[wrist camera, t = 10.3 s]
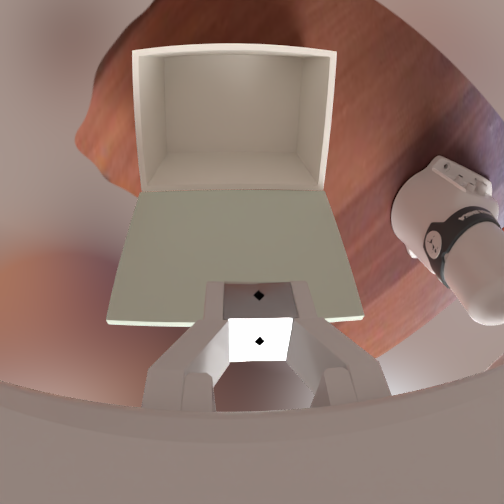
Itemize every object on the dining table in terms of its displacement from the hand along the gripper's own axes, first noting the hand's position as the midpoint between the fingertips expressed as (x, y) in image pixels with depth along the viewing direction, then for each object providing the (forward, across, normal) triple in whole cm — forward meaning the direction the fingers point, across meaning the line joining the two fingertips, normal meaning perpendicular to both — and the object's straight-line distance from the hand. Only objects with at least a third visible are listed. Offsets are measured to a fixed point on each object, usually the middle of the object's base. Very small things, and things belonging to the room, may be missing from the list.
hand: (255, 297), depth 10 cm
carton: (+33, -1, +2) cm, 33 cm away
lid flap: (+14, -1, -7) cm, 16 cm away
